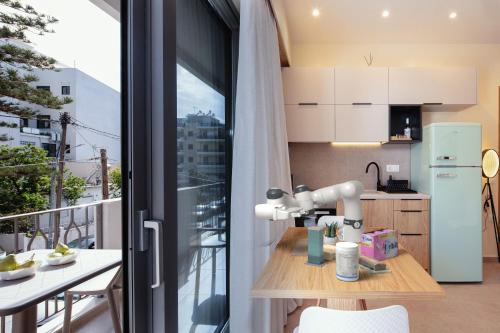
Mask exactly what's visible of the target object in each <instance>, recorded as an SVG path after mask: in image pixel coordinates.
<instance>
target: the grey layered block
mask: <svg viewBox="0 0 500 333" xmlns="http://www.w3.org/2000/svg"><path fill="white" fill-rule="evenodd" d="M359 269H361V270H363V271H364V272H367V273H369V274H371V275H382V274H391V273H392V270H391V269H390V268H389V269H388V268H387V264H386V263H384V262H382V261H381V260H380V261H378V260H376V259H374V258H372V257H369V256H367V255H364V254H361V253H360V254H359Z"/></svg>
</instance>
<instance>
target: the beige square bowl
mask: <svg viewBox="0 0 500 333" xmlns="http://www.w3.org/2000/svg"><path fill="white" fill-rule="evenodd" d="M323 254H324V261H332V260H335V259H336V245H334V244H333V245H332V244H326V243H323Z"/></svg>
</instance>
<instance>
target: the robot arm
mask: <svg viewBox="0 0 500 333" xmlns="http://www.w3.org/2000/svg"><path fill="white" fill-rule="evenodd" d="M311 190H312V188H311V187H310V186H308V185H305V184H300V185H298V186H296V187H295V188H294V189H293V193H294V197H292V196H291V195H290V194H289V193H288V192H287V191H285V190H282V188H279V187H271V188H268V190H267V191H266V192H265V194H266V203H260V204H256V205H255V206H254V215H255V216H254V217H255V218H257V219H260V220H267V221H269V222H271V221H272V222H273V221H274V222H277V221H279V222H280V221H283V222H284V221H285V220H289V219H292V218H300V217H302V218H310V217H312V216H314V215H315V213H316V208H315V206H314V205H316V206H318V205H319V206H322V205H326V204H327V205H328V204H331V203H336V202H340V201H343V206H344V207H343V208H344V212H343V214H344V216H343V222H342V223H343V224H342V225H341V226H339V229H337V232H338V233H339V234H336V235H337V237H338V238H337V237H336V238H337V240H338V242H339V241H340V242H351V243H356V244H359V243H360V244H361V233H365V232H366V228H365V226H364V219H363V206H362V203H361V196H362V194H363V193H364V191H365V185H364V184H363V183H362V181H359V180H347V181H345V182H341V183H337V184H333V185H329V186H326V187H325V186H324V187H322V188H319V189H316V190H313V191H311Z"/></svg>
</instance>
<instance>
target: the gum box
mask: <svg viewBox="0 0 500 333" xmlns="http://www.w3.org/2000/svg"><path fill="white" fill-rule="evenodd" d="M398 230H399V229H398ZM398 230H397V229H396V230H393V229H389V228H387V227H386V228H380V229H376V230H372V231H371V230H369V231H365V233H361V242H360V255H361V254H364V255H367V256H369V257H372V258H374V259H376V260H378V261H380V262H381V261H383V260H386V259H387V260H388V259H389V258H394V257H397V256H399V255H400V253H399V252H400V251H399V250H400V249H399V231H398Z"/></svg>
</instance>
